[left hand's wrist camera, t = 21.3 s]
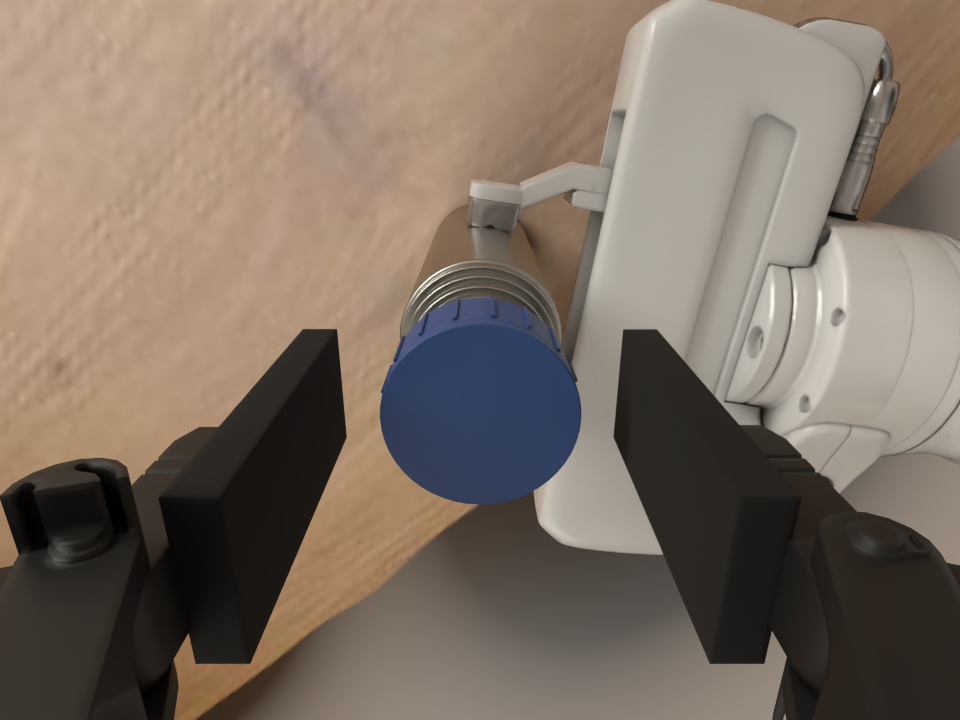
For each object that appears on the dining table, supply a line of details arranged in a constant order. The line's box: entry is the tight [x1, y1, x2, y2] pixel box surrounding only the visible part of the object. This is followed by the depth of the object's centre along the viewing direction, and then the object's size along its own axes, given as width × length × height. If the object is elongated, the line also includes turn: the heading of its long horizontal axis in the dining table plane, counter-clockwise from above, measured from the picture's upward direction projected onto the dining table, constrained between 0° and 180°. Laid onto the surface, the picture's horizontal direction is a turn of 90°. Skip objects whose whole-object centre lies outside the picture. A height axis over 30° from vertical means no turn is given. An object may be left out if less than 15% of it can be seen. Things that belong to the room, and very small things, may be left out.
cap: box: [380, 296, 581, 504], centre depth 13 cm, size 4×4×2 cm
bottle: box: [400, 205, 561, 344], centre depth 21 cm, size 4×4×17 cm
